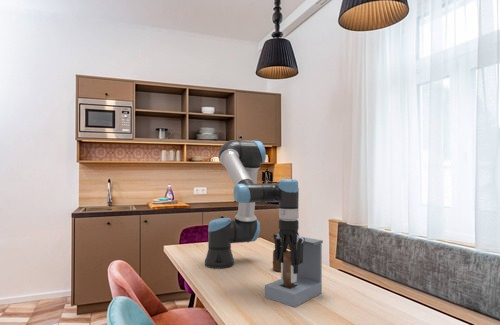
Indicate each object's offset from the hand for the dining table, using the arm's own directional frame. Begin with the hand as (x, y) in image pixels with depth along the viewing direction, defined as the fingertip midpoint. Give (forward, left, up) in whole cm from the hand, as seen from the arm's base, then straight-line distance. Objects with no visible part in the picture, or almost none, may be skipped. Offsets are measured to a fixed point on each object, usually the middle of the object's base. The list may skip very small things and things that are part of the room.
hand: (288, 280), depth 130 cm
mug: (-22, +26, -7) cm, 34 cm away
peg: (0, 0, -4) cm, 4 cm away
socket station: (0, +3, -7) cm, 7 cm away
